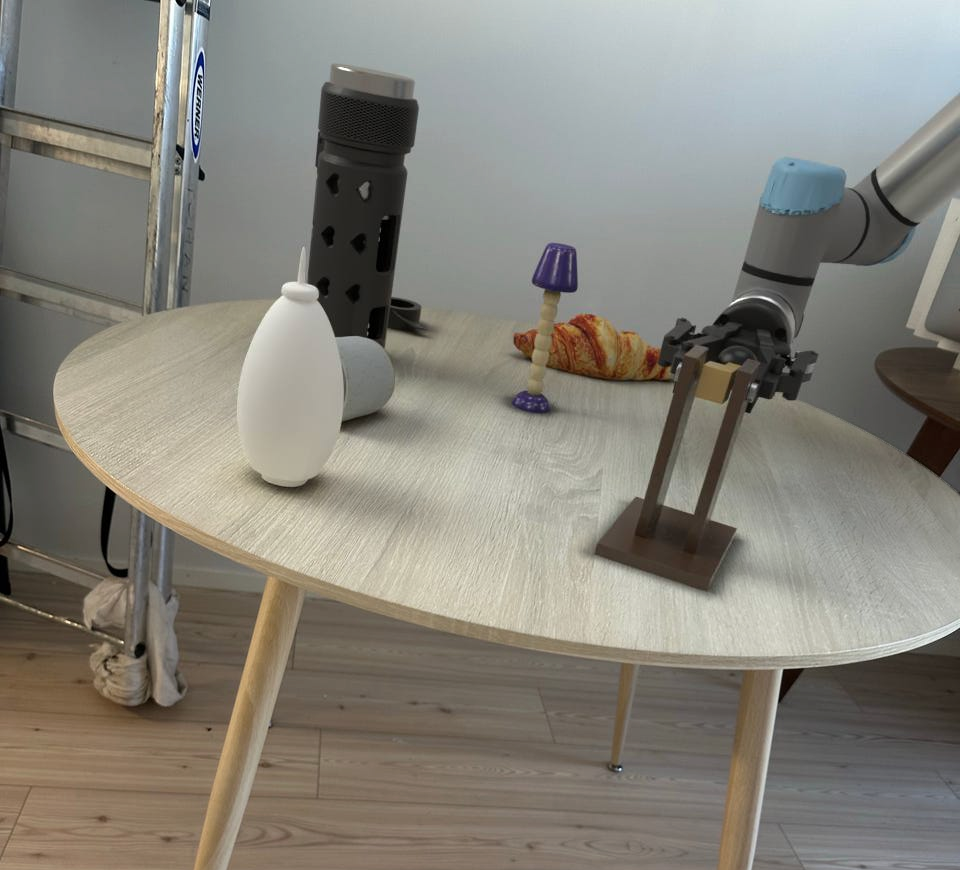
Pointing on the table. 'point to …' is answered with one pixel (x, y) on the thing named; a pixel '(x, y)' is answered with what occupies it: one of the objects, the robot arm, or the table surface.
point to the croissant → (597, 350)
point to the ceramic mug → (364, 376)
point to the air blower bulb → (291, 388)
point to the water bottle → (360, 196)
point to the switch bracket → (647, 522)
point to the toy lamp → (547, 318)
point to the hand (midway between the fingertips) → (715, 386)
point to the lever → (722, 374)
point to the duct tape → (404, 315)
